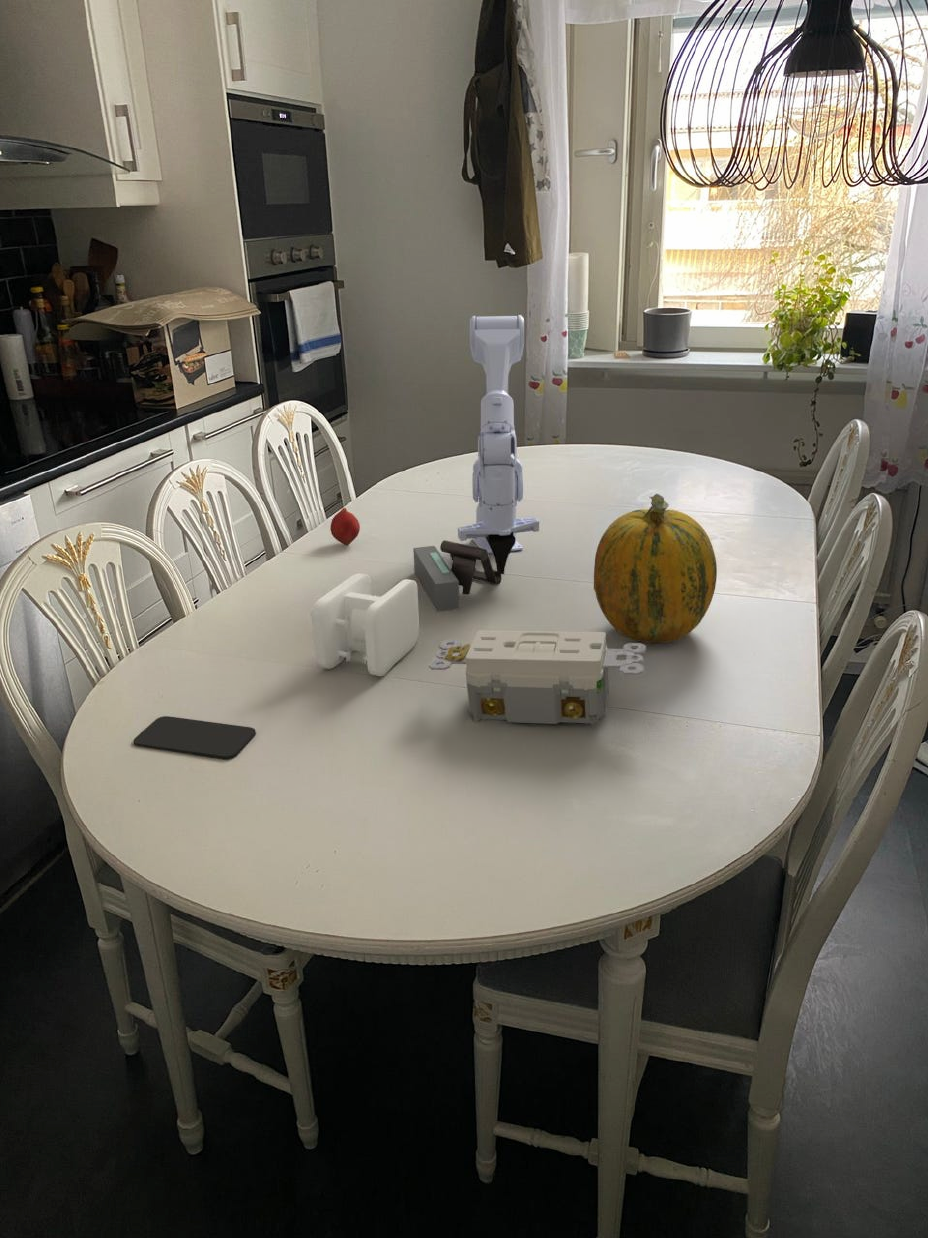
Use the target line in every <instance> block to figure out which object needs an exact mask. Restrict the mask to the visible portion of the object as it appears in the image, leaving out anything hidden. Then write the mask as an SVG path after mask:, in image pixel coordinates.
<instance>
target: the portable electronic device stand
mask: <svg viewBox="0 0 928 1238" xmlns="http://www.w3.org/2000/svg"><path fill="white" fill-rule="evenodd" d="M439 548H440V551H441V553H446V554H449V555H450V558H451V561H452V562H451V567H450V569H451V571H452V572H453V574H454V575H455V577H456V578H457V580H458V581H459V587H460V586H461V587H462V593H461V594H462V595H465V596H469V595H470V594H471V589H472V585H473V580H476V581H481V582H485V583H488V584H489V583H490V584H492V585H495V586H496V585H497V586H499V585H500V584H501V583H502V574H500V572H498V571H497V570H494V569H493V565H492V562H491V558H490V556H489V554H488V552H487V550H486V549H483V548H479V547H478V546H472V545H467V544H464V543H460V542H454V541H449V540H445V539H444V540H442V542H441V543H440V547H439ZM477 561H480V563H481V566H482V569H483V571H481V570H477V568H476V566H477Z"/></svg>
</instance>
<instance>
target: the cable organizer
mask: <svg viewBox="0 0 928 1238" xmlns="http://www.w3.org/2000/svg"><path fill="white" fill-rule="evenodd" d="M418 593H419V592H418V584H417V582H416V581H415V580H413V579H406V578H405V579H402V580H401V581H399V583H397V584H395V586H393V587H392V588H391V589H389V590H388V591H387V592H385V593H384V594H383V595H382V596H378V595H376V593H375V594H374V595H373V594H372V580H371V577H370V575H368V574H365V573H354V574H352V575H351V576H350V577H348V578H347V579H345V580H344V581H343V582H341V583H340V584H338V585H337V586H336V587H334V588H333V589H331V590H330V591H329V592H327V593H326V594H324V595H323V596H321V597H320V598H318V600H316V602H315V603H314V604H313V607H311V608H310V610H309V611H310V616H311V624H312V634H313V646H314V657H315V663H316V665H317V667H319V668H324V669H329V670H331V669H333V668H335V667H336V666H338V665H339V664H340V663H342V661H344V659H346V660H345V661H346V663H348V661H349V663H351V656H352V653H353V652H359V653H365V655H363V658H364V664H363V666H365V665H367V670H368V673H369V674H370V675H373V676H379V677H383V676H385V675H386V674H387V673H388V672H389V671H390V670H391V669H392V668H393V666H395V664H396V663H398V661H400V660H401V659H402V658H404V657H405V656H407V654H408V653H409V652H411V651H412V649H413V648H414V647H415V645H416V644H417V642H418V640H419V636H420V617H419V614H420V613H419V597H418V595H419V594H418Z"/></svg>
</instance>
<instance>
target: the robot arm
mask: <svg viewBox="0 0 928 1238" xmlns="http://www.w3.org/2000/svg"><path fill="white" fill-rule="evenodd" d="M469 346H470V350H471V351H470V353H471V357H472V359H473V362H475V363H478V364H480V365H482V367H483V370H484V372H485V376H486V379H485V383H486V387H485V389H486V390H485V391H486V392H485V393H486V394H485V395H484V396H483V397H482V398H481V401H480V435H479V436H478V439H477V440H478V441H477V459H476V460H475V461H474V463H473V465H472V477H471V479H472V480H471V481H472V485H471V486H472V489H471V490H472V500H474V502H475V503H478V504H477V506H476V509H475V512H476V519H475V520H476V521H475V522H476V523H472V524H468V525H464V526H460V527H457V539H459V541H460V542H466V541H467V540H471V539H472V540H473V542H474V543H475V544H476V546H477V547H478V548H483V549H486V550H487V552H488V555H489V554H492V555H493V558H494V560H495V561H494V562H495V565H496V566H495V567H496V571H498V572H500V574H501V575H505V568H506V563H507V561H508V559H509V555H510V553H511V552H512V551H522V550H523V549H524V548H523V546H522V544H520V542H519V541H517V534H518V533H525V532H533V533H537V532H540V521H539V520H538V519H537V518H536V517H533V518H532V517H531V518H530V517H529V518H517V507H518V506H517V505H518V502H519V503H520V502H522V500H523V498H524V471H523V463H522V461H521V460H520V459H519V458H517V457H518V454H517V453H518V452H517V447H518V446H517V445H518V444H517V436H516V430H515V429H516V428H515V410H514V409H515V407H514V406H515V404H514V399H513V398H512V397H511V395H509V373H510V372H511V368H512V366H513V365H514V364H516V363H518V362H520V361H521V360H522V357H523V355H524V348H525V319H524V317H523V316H522V314H518V316H517V315H501V316H500V315H498V316H496V315H495V316H491V315H490V316H476V315H473V316H471V318H470V319H469Z"/></svg>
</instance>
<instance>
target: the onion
mask: <svg viewBox="0 0 928 1238" xmlns="http://www.w3.org/2000/svg"><path fill="white" fill-rule="evenodd" d="M329 528H330V530H329V531H330V533H331V535H332V537H333V538H334V539H336V541H338V542H339V543H341V544H342V545H344V546H350V544H351V543H352V542H353V541H354V540H355V539H356V538H357V537H358V535H359V533H360V532H361V531H360V530H361V529H360V528H361V526H360V522H359V520H358V519H357V517H356V516H355V515H354V514H353V513H351V512H349V510H348V509H347V507H342V508H341V510H340V511H339V512H338V513H336V514H335V515H334V516H333V518H332V519H331V523H330V527H329Z"/></svg>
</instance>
